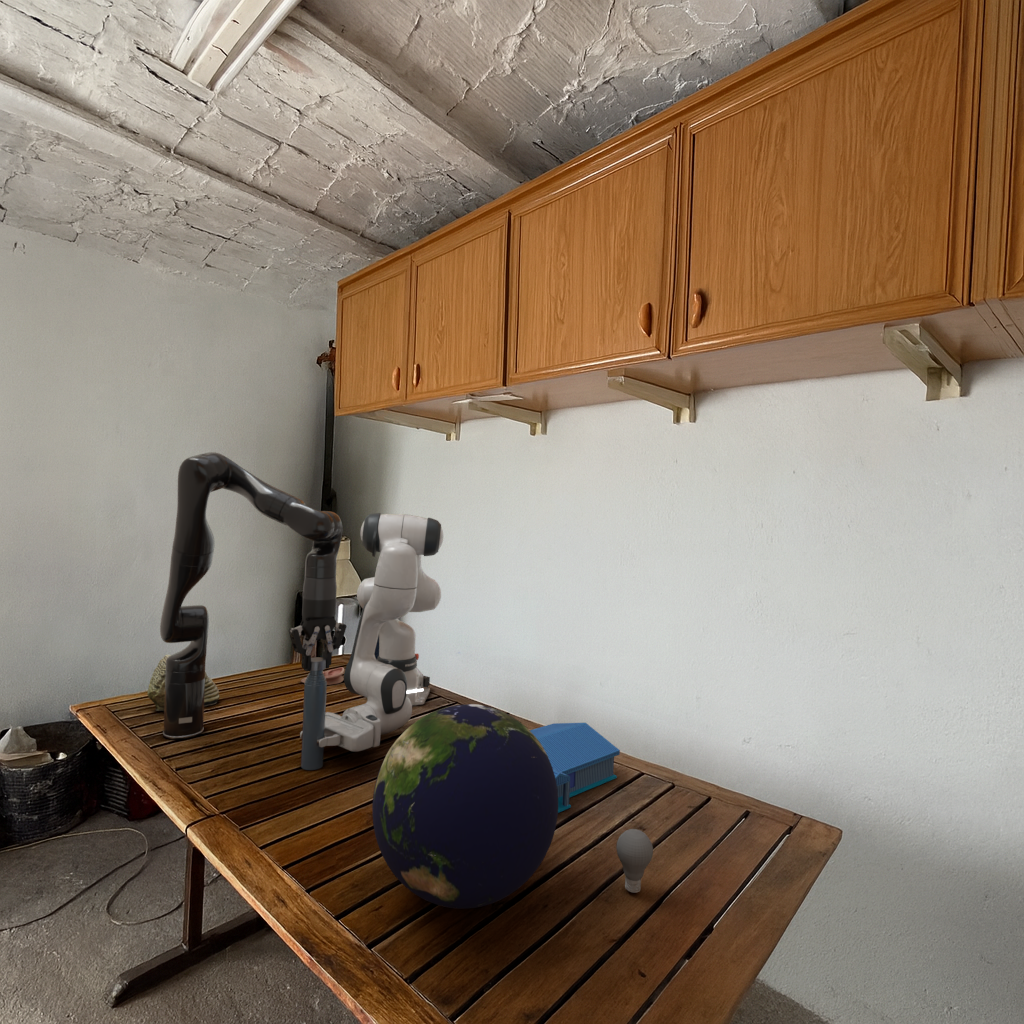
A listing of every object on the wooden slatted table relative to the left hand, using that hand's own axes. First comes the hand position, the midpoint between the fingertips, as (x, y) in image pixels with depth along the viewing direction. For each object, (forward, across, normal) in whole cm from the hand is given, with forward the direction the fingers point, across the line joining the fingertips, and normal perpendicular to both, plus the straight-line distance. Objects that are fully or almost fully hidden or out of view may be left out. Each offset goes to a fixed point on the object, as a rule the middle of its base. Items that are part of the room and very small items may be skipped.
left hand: (316, 668), depth 148 cm
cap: (-2, 0, 0) cm, 2 cm away
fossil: (+23, -10, +60) cm, 65 cm away
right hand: (+16, -1, 0) cm, 16 cm away
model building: (+23, +33, -40) cm, 56 cm away
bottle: (+23, 0, 0) cm, 23 cm away
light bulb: (+23, +18, -78) cm, 83 cm away
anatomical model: (+22, +33, +60) cm, 72 cm away
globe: (+23, -3, -60) cm, 64 cm away
